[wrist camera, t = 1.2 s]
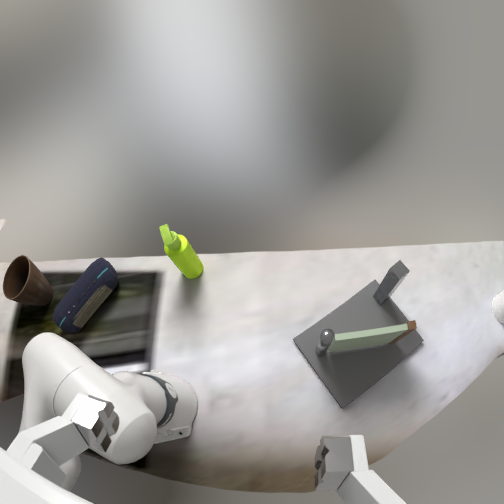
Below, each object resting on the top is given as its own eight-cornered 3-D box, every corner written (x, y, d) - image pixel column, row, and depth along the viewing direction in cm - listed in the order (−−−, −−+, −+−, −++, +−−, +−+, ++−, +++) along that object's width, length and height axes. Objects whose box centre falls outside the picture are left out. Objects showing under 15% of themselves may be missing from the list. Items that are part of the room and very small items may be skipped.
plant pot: (67, 289, 83) (35, 268, 69) (45, 324, 78) (11, 308, 64) (49, 269, 88) (20, 248, 74) (28, 301, 83) (-2, 283, 69)
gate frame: (341, 407, 57) (357, 410, 41) (293, 339, 67) (291, 319, 51) (421, 341, 61) (455, 321, 45) (373, 281, 70) (392, 245, 54)
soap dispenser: (187, 285, 77) (156, 249, 60) (180, 264, 81) (149, 225, 63) (207, 276, 78) (181, 237, 60) (199, 255, 81) (172, 213, 64)
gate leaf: (328, 353, 62) (335, 340, 50) (327, 346, 63) (334, 332, 50) (394, 343, 60) (416, 328, 48) (393, 336, 61) (415, 320, 49)
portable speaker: (78, 343, 74) (56, 334, 65) (64, 321, 78) (44, 311, 69) (129, 282, 81) (111, 267, 72) (112, 264, 85) (95, 248, 76)
